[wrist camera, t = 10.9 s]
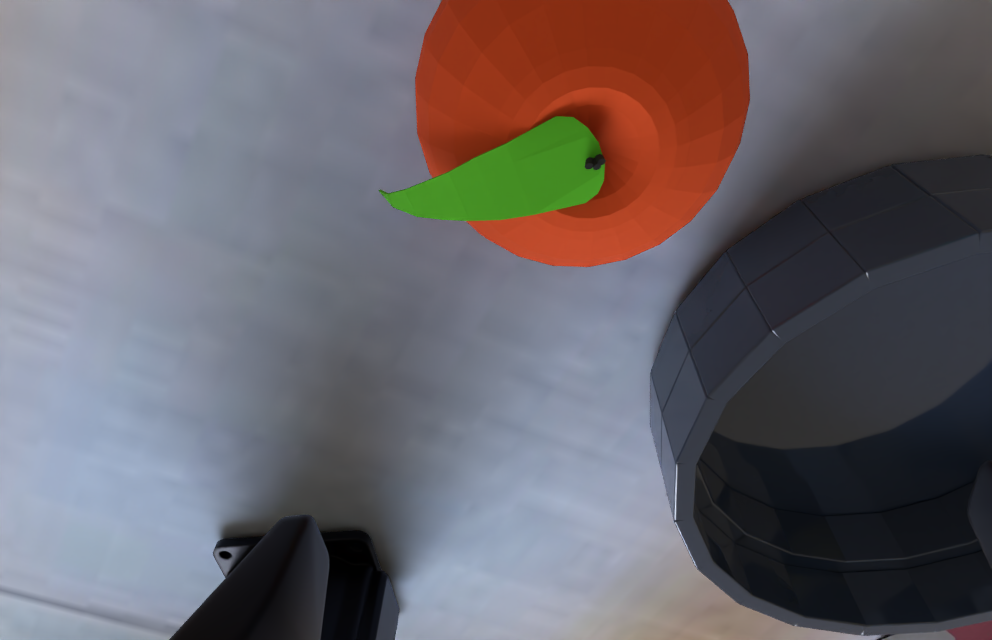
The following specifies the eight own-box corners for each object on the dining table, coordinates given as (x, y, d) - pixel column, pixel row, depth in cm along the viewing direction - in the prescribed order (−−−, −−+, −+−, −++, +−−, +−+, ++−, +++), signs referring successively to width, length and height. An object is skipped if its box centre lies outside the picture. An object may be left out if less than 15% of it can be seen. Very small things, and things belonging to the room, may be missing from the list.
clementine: (457, 237, 20) (432, 388, 14) (347, -2, 16) (251, 63, 11) (727, 143, 18) (831, 270, 12) (668, -146, 15) (772, -164, 9)
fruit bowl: (648, 539, 27) (670, 645, 23) (648, 184, 19) (681, 260, 15) (1048, 515, 26) (1140, 623, 22) (1235, 123, 18) (1431, 188, 14)
